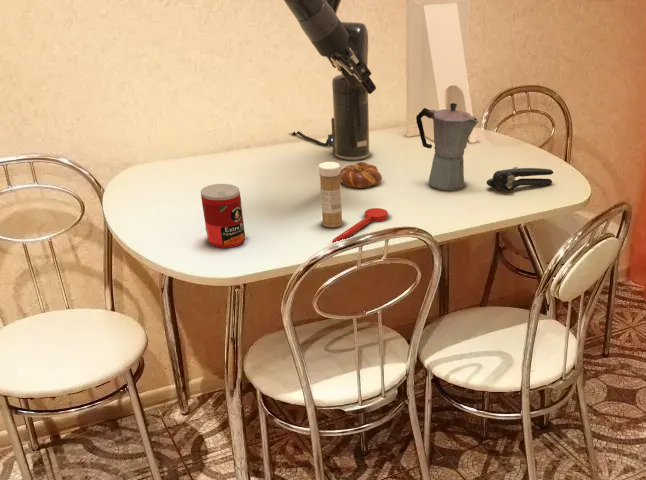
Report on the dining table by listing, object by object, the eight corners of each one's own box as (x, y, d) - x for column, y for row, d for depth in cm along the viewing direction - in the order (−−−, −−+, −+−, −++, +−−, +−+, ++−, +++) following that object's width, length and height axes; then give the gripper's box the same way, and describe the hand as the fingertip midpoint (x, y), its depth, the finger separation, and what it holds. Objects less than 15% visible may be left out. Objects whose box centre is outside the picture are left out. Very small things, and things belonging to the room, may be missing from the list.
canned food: (227, 251, 158) (220, 199, 152) (199, 242, 161) (191, 191, 155) (253, 239, 163) (248, 188, 157) (226, 230, 167) (219, 180, 160)
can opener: (496, 197, 187) (498, 174, 184) (483, 187, 192) (485, 165, 189) (559, 188, 193) (562, 166, 190) (545, 179, 198) (547, 157, 195)
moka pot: (472, 194, 188) (476, 110, 177) (410, 188, 190) (411, 105, 179) (478, 181, 196) (483, 100, 184) (418, 176, 198) (420, 95, 187)
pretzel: (338, 173, 198) (337, 159, 196) (380, 173, 199) (380, 158, 197) (337, 190, 188) (336, 175, 186) (382, 189, 189) (382, 174, 187)
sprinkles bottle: (339, 219, 173) (337, 160, 166) (345, 227, 170) (342, 166, 162) (319, 221, 172) (316, 162, 164) (324, 229, 168) (321, 168, 161)
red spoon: (344, 248, 160) (344, 242, 160) (323, 243, 162) (323, 237, 161) (391, 215, 176) (391, 209, 175) (371, 211, 178) (371, 205, 177)
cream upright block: (431, 149, 217) (434, -10, 194) (406, 135, 227) (406, -17, 204) (489, 139, 225) (499, -14, 203) (463, 127, 235) (469, -20, 213)
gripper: (351, 21, 158) (391, 82, 170) (319, 8, 167) (359, 67, 179) (325, 46, 157) (367, 106, 169) (295, 32, 167) (336, 90, 179)
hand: (363, 86), depth 174 cm, fingers open, 8 cm apart
